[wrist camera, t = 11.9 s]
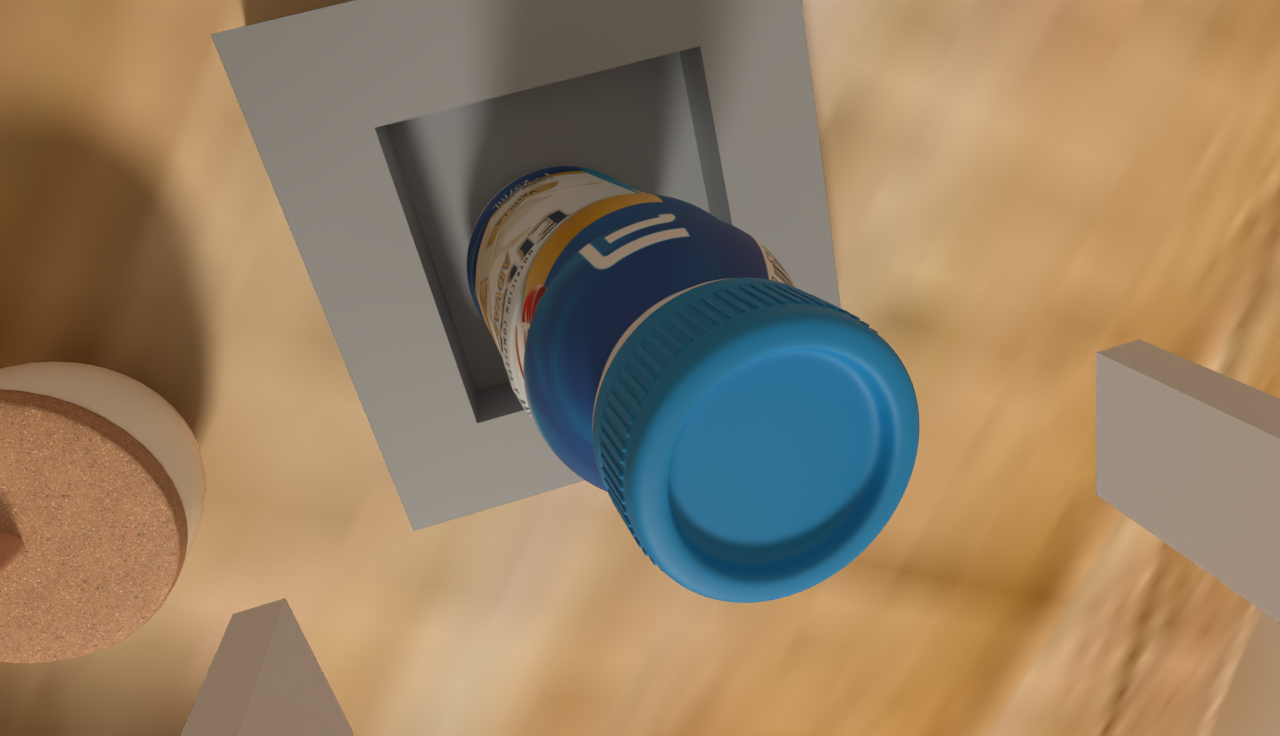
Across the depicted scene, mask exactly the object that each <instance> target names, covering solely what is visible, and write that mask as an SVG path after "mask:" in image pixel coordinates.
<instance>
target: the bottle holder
mask: <svg viewBox="0 0 1280 736" xmlns="http://www.w3.org/2000/svg"><path fill="white" fill-rule="evenodd" d="M211 36H212V39H213V41H214V44H215V46H216V49H217V51H218V54H219V56H220V58H221V61H222V63H223V66H224V68H225V71H226V73H227V76H228V78H229V80H230V83H231V85H232V88H233V90H234V93H235V95H236V98H237V100H238V102H239V105H240V107H241V110H242V112H243V115H244V117H245V120H246V122H247V125H248V127H249V129H250V132H251V134H252V137H253V139H254V142H255V144H256V147H257V149H258V151H259V154H260V156H261V159H262V161H263V164H264V166H265V169H266V171H267V173H268V176H269V178H270V181H271V183H272V186H273V188H274V191H275V193H276V195H277V198H278V200H279V203H280V205H281V208H282V210H283V213H284V215H285V217H286V220H287V222H288V225H289V227H290V230H291V232H292V235H293V237H294V240H295V242H296V244H297V247H298V249H299V252H300V254H301V257H302V259H303V262H304V264H305V266H306V269H307V271H308V274H309V276H310V279H311V281H312V284H313V286H314V288H315V291H316V293H317V296H318V298H319V301H320V303H321V306H322V308H323V310H324V313H325V315H326V318H327V320H328V323H329V325H330V328H331V330H332V332H333V335H334V337H335V340H336V342H337V345H338V347H339V350H340V352H341V355H342V357H343V359H344V362H345V364H346V367H347V369H348V372H349V374H350V377H351V379H352V381H353V384H354V386H355V389H356V391H357V394H358V396H359V399H360V401H361V403H362V406H363V408H364V411H365V413H366V416H367V418H368V421H369V423H370V425H371V428H372V430H373V433H374V435H375V438H376V440H377V443H378V445H379V447H380V450H381V452H382V455H383V457H384V460H385V462H386V465H387V467H388V470H389V472H390V474H391V477H392V479H393V482H394V484H395V487H396V489H397V492H398V494H399V496H400V499H401V501H402V504H403V506H404V509H405V511H406V514H407V516H408V518H409V521H410V523H411V526H412V528H413V531H415V530H419V529H422V528H425V527H429V526H432V525H435V524H439V523H442V522H446V521H449V520H452V519H456V518H459V517H462V516H466V515H469V514H473V513H476V512H479V511H483V510H486V509H489V508H493V507H496V506H500V505H503V504H506V503H510V502H513V501H516V500H520V499H523V498H527V497H530V496H533V495H537V494H540V493H543V492H547V491H550V490H554V489H557V488H560V487H564V486H567V485H570V484H574V483H577V482H580V481H584V479H583V478H581V477H580V476H578V475H577V474H576V473H574V472H573V471H572V470H570V469H569V468H568V467H567V466H566V465H565V464H564V463H563V462H562V461H561V460H560V459H559V458H558V457H557V456H556V455H555V454H554V453H553V452H552V450H551V449H550V448H549V446H548V445H547V444H546V442H545V441H544V439H543V438H542V436H541V434H540V432H539V431H538V429H537V427H536V424H535V423H534V421H533V420H532V419H531V418H530V417H529V415H528V414H527V413H526V411H525V410H524V408H523V407H522V405H521V404H520V402H519V400H518V399H517V397H516V395H515V393H514V391H513V389H512V387H511V384H510V382H509V379H508V376H507V373H506V370H505V366H504V362H503V358H502V356H501V354H500V351H499V349H498V347H497V345H496V343H495V341H494V339H493V337H492V335H491V333H490V331H489V329H488V327H487V325H486V324H485V322H484V321H483V319H482V317H481V316H480V314H479V312H478V310H477V308H476V306H475V304H474V301H473V299H472V296H471V293H470V289H469V285H468V279H467V268H466V263H467V251H468V245H469V241H470V237H471V234H472V231H473V229H474V226H475V224H476V222H477V220H478V218H479V216H480V214H481V213H482V211H483V210H484V208H485V207H486V206H487V204H488V203H489V202H490V201H491V199H492V198H493V197H494V196H495V195H496V194H497V193H498V192H499V191H500V190H502V189H503V188H504V187H505V186H507V185H508V184H509V183H511V182H512V181H514V180H515V179H517V178H519V177H521V176H523V175H525V174H527V173H530V172H532V171H535V170H538V169H542V168H547V167H553V166H578V167H584V168H588V169H592V170H595V171H598V172H600V173H603V174H605V175H608V176H610V177H612V178H614V179H616V180H617V181H619V182H622V183H624V184H627V185H629V186H632V187H634V188H637V189H640V190H642V191H645V192H647V193H650V194H656V195H663V196H668V197H672V198H676V199H679V200H682V201H685V202H688V203H690V204H693V205H695V206H697V207H699V208H701V209H703V210H705V211H706V212H708V213H710V214H711V215H713V216H715V217H716V218H718V219H719V220H720V221H723V222H726V223H728V224H730V225H733V226H735V227H737V228H739V229H740V230H742V231H744V232H746V233H747V234H749V235H750V236H752V237H753V238H754V239H756V240H757V241H758V242H760V243H761V244H762V245H763V246H764V247H765V248H766V249H767V250H768V251H769V252H770V253H771V254H772V255H773V256H774V257H775V258H776V259H777V260H778V262H779V263H780V264H781V265H782V267H783V268H784V270H785V271H786V272H787V274H788V275H789V277H790V279H791V280H792V282H793V284H794V285H795V287H796V288H798V289H800V290H802V291H804V292H806V293H808V294H812V295H814V296H816V297H818V298H820V299H822V300H824V301H826V302H828V303H831V304H833V305H835V306H837V307H839V308H841V305H840V297H839V289H838V282H837V274H836V266H835V258H834V251H833V243H832V235H831V227H830V220H829V212H828V204H827V197H826V189H825V181H824V173H823V166H822V158H821V150H820V142H819V135H818V127H817V119H816V111H815V104H814V96H813V88H812V81H811V73H810V65H809V57H808V50H807V42H806V34H805V26H804V19H803V11H802V3H801V0H354V1H350V2H345V3H341V4H337V5H333V6H328V7H324V8H320V9H316V10H312V11H307V12H303V13H299V14H295V15H290V16H286V17H282V18H278V19H274V20H269V21H265V22H261V23H257V24H252V25H248V26H244V27H240V28H236V29H231V30H227V31H223V32H219V33H214V34H211Z"/></svg>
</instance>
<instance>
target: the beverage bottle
mask: <svg viewBox="0 0 1280 736" xmlns="http://www.w3.org/2000/svg"><path fill="white" fill-rule="evenodd" d="M466 268H467V279H468V285H469V289H470V293H471V296H472V299H473V301H474V304H475V306H476V308H477V310H478V312H479V314H480V316H481V317H482V319H483V321H484V322H485V324H486V325H487V327H488V329H489V331H490V333H491V335H492V337H493V339H494V341H495V343H496V345H497V347H498V349H499V351H500V354H501V356H502V358H503V362H504V366H505V370H506V373H507V376H508V379H509V382H510V384H511V387H512V389H513V391H514V393H515V395H516V397H517V399H518V400H519V402H520V404H521V405H522V407H523V408H524V410H525V411H526V413H527V414H528V415H529V417H530V418H531V419H532V420H533V421H534V423H535V424H536V427H537V429H538V431H539V432H540V434H541V436H542V438H543V439H544V441H545V442H546V444H547V445H548V446H549V448H550V449H551V450H552V452H553V453H554V454H555V455H556V456H557V457H558V458H559V459H560V460H561V461H562V462H563V463H564V464H565V465H566V466H567V467H568V468H569V469H570V470H572V471H573V472H574V473H576V474H577V475H578V476H580V477H581V478H583V479H584V480H586V481H588V482H589V483H591V484H593V485H595V486H596V487H598V488H600V489H602V490H604V491H607V492H608V494H609V496H610V497H611V499H612V502H613V504H614V505H615V507H616V509H617V510H618V512H619V514H620V515H621V517H622V519H623V520H624V522H625V524H626V525H627V527H628V529H629V530H630V532H631V534H632V535H633V537H634V539H635V540H636V542H637V544H638V545H639V547H640V548H642V550H643V552H644V554H645V555H646V556H649V557H650V559H651V561H652V562H653V564H654V565H658V567H659V568H660V569H661V571H663V572H665V573H666V574H667V575H668V576H669V577H670V578H672V579H673V580H674V581H676V582H677V583H679V584H680V585H682V586H683V587H685V588H687V589H689V590H691V591H693V592H695V593H697V594H700V595H702V596H705V597H709V598H712V599H716V600H721V601H727V602H738V603H752V602H763V601H769V600H774V599H779V598H783V597H786V596H790V595H793V594H796V593H798V592H801V591H803V590H806V589H808V588H810V587H812V586H814V585H816V584H818V583H820V582H822V581H824V580H826V579H827V578H829V577H831V576H832V575H834V574H835V573H837V572H838V571H840V570H841V569H842V568H844V567H845V566H846V565H848V564H849V563H850V562H851V561H853V560H854V559H855V558H856V557H857V556H858V555H859V554H860V553H861V552H862V551H863V550H865V549H866V547H867V546H868V545H869V544H870V543H871V542H872V541H873V540H874V539H875V538H876V536H877V535H878V534H879V533H880V532H881V530H882V529H883V528H884V526H885V525H886V523H887V522H888V521H889V519H890V518H891V516H892V514H893V513H894V511H895V510H896V508H897V506H898V504H899V502H900V500H901V498H902V496H903V494H904V492H905V490H906V487H907V485H908V482H909V480H910V477H911V474H912V471H913V467H914V463H915V459H916V454H917V449H918V441H919V411H918V404H917V399H916V395H915V391H914V388H913V384H912V382H911V379H910V377H909V374H908V372H907V370H906V368H905V367H904V365H903V363H902V361H901V360H900V358H899V357H898V355H897V354H896V353H895V351H894V350H893V349H892V348H891V347H890V346H889V344H888V343H887V342H886V341H885V340H884V339H883V338H881V337H880V336H879V335H878V334H877V332H876V331H875V330H873V329H871V328H869V325H868V324H866V323H864V322H862V321H860V319H859V318H858V317H856V316H854V315H852V314H850V313H849V312H847V311H845V310H843V309H841V308H839V307H837V306H835V305H833V304H831V303H828V302H826V301H824V300H822V299H820V298H818V297H816V296H814V295H812V294H808V293H806V292H804V291H802V290H800V289H798V288H796V287H795V285H794V284H793V282H792V280H791V279H790V277H789V275H788V274H787V272H786V271H785V270H784V268H783V267H782V265H781V264H780V263H779V262H778V260H777V259H776V258H775V257H774V256H773V255H772V254H771V253H770V252H769V251H768V250H767V249H766V248H765V247H764V246H763V245H762V244H761V243H760V242H758V241H757V240H756V239H754V238H753V237H752V236H750V235H749V234H747V233H746V232H744V231H742V230H740V229H739V228H737V227H735V226H733V225H730V224H728V223H726V222H723V221H720V220H719V219H718V218H716V217H715V216H713V215H711V214H710V213H708V212H706V211H705V210H703V209H701V208H699V207H697V206H695V205H693V204H690V203H688V202H685V201H682V200H679V199H676V198H672V197H668V196H663V195H656V194H650V193H647V192H645V191H642V190H640V189H637V188H634V187H632V186H629V185H627V184H624V183H622V182H619V181H617V180H616V179H614V178H612V177H610V176H608V175H605V174H603V173H600V172H598V171H595V170H592V169H588V168H584V167H578V166H553V167H547V168H542V169H538V170H535V171H532V172H530V173H527V174H525V175H523V176H521V177H519V178H517V179H515V180H514V181H512V182H511V183H509V184H508V185H507V186H505V187H504V188H503V189H502V190H500V191H499V192H498V193H497V194H496V195H495V196H494V197H493V198H492V199H491V201H490V202H489V203H488V204H487V206H486V207H485V208H484V210H483V211H482V213H481V214H480V216H479V218H478V220H477V222H476V224H475V226H474V229H473V231H472V234H471V237H470V241H469V245H468V251H467V263H466Z"/></svg>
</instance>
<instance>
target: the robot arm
mask: <svg viewBox="0 0 1280 736" xmlns="http://www.w3.org/2000/svg"><path fill="white" fill-rule="evenodd" d="M1096 495H1098V496H1099V497H1100V498H1102V499H1103V500H1105V501H1106V502H1108V503H1109V504H1110V505H1112V506H1113V507H1115V508H1116V509H1118V510H1119V511H1120V512H1122V513H1123V514H1125V515H1126V516H1128V517H1129V518H1130V519H1132V520H1133V521H1135V522H1136V523H1138V524H1139V525H1140V526H1142V527H1143V528H1145V529H1146V530H1148V531H1149V532H1150V533H1152V534H1153V535H1155V536H1156V537H1158V538H1159V539H1160V540H1162V541H1163V542H1165V543H1166V544H1168V545H1169V546H1170V547H1172V548H1173V549H1175V550H1176V551H1177V552H1179V553H1180V554H1182V555H1183V556H1185V557H1186V558H1187V559H1189V560H1190V561H1192V562H1193V563H1195V564H1196V565H1197V566H1199V567H1200V568H1202V569H1203V570H1205V571H1206V572H1207V573H1209V574H1210V575H1212V576H1213V577H1215V578H1216V579H1217V580H1219V581H1220V582H1222V583H1223V584H1225V585H1226V586H1227V587H1229V588H1230V589H1232V590H1233V591H1235V592H1236V593H1237V594H1239V595H1240V596H1242V597H1243V598H1245V599H1246V600H1247V601H1249V602H1250V603H1252V604H1253V605H1255V606H1256V607H1257V608H1259V609H1260V610H1262V611H1263V612H1265V613H1266V614H1267V615H1269V616H1270V617H1272V618H1273V619H1274V620H1276V621H1278V622H1279V623H1280V399H1279V398H1277V397H1274V396H1272V395H1270V394H1267V393H1265V392H1262V391H1260V390H1258V389H1255V388H1253V387H1251V386H1248V385H1246V384H1244V383H1241V382H1239V381H1236V380H1234V379H1232V378H1229V377H1227V376H1225V375H1222V374H1220V373H1218V372H1215V371H1213V370H1210V369H1208V368H1206V367H1203V366H1201V365H1199V364H1196V363H1194V362H1191V361H1189V360H1187V359H1184V358H1182V357H1180V356H1177V355H1175V354H1173V353H1170V352H1168V351H1165V350H1163V349H1161V348H1158V347H1156V346H1154V345H1151V344H1149V343H1147V342H1144V341H1142V340H1136V341H1133V342H1129V343H1126V344H1123V345H1119V346H1116V347H1113V348H1109V349H1106V350H1103V351H1100V352H1097V389H1096ZM180 736H353V731H352V729H351V727H350V725H349V723H348V721H347V719H346V717H345V715H344V713H343V711H342V709H341V707H340V705H339V703H338V701H337V699H336V697H335V695H334V693H333V691H332V689H331V688H330V686H329V684H328V682H327V680H326V678H325V676H324V674H323V672H322V670H321V668H320V666H319V664H318V662H317V660H316V658H315V656H314V654H313V652H312V650H311V648H310V646H309V644H308V642H307V640H306V638H305V636H304V634H303V632H302V630H301V628H300V626H299V624H298V622H297V620H296V618H295V616H294V614H293V612H292V610H291V608H290V606H289V604H288V602H287V600H286V598H285V599H281V600H278V601H275V602H271V603H268V604H265V605H262V606H258V607H255V608H252V609H248V610H245V611H242V612H238V613H235V614H233V615H232V618H231V620H230V622H229V624H228V627H227V629H226V631H225V634H224V636H223V638H222V641H221V643H220V645H219V648H218V650H217V652H216V654H215V657H214V659H213V661H212V664H211V666H210V668H209V671H208V673H207V675H206V678H205V680H204V682H203V684H202V687H201V689H200V691H199V694H198V696H197V698H196V701H195V703H194V705H193V708H192V710H191V712H190V714H189V717H188V719H187V721H186V724H185V726H184V728H183V731H182V733H181V735H180Z"/></svg>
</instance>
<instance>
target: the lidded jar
mask: <svg viewBox="0 0 1280 736" xmlns="http://www.w3.org/2000/svg"><path fill="white" fill-rule="evenodd" d="M205 492H206V478H205V469H204V464H203V460H202V456H201V452H200V448H199V446H198V443H197V441H196V439H195V436H194V434H193V432H192V431H191V429H190V428H189V426H188V425H187V423H186V421H185V420H184V419H183V418H182V416H181V415H180V414H179V413H178V412H177V411H176V410H175V408H174V407H173V406H172V405H171V404H170V403H168V402H167V401H166V400H165V399H164V398H163V397H161V396H160V395H159V394H158V393H156V392H155V391H153V390H152V389H150V388H149V387H147V386H145V385H144V384H142V383H141V382H139V381H137V380H134V379H132V378H130V377H128V376H126V375H124V374H121V373H118V372H115V371H112V370H109V369H106V368H103V367H99V366H94V365H88V364H83V363H71V362H36V363H26V364H21V365H16V366H11V367H6V368H2V369H0V662H9V663H43V662H50V661H58V660H65V659H69V658H74V657H78V656H82V655H86V654H90V653H92V652H95V651H98V650H100V649H103V648H105V647H108V646H111V645H113V644H114V643H116V642H118V641H120V640H122V639H124V638H125V637H127V636H129V635H131V634H132V633H133V632H135V631H136V630H137V629H138V628H140V627H141V626H142V625H144V624H145V623H146V622H147V621H148V620H149V619H150V618H151V617H152V616H153V615H154V614H155V613H156V612H157V611H158V609H159V608H160V607H161V606H162V604H163V603H164V601H165V600H166V598H167V596H168V595H169V593H170V592H171V590H172V588H173V587H174V585H175V583H176V581H177V579H178V576H179V574H180V571H181V568H182V566H183V563H184V561H185V559H186V557H187V555H188V553H189V551H190V549H191V546H192V544H193V541H194V539H195V536H196V533H197V531H198V528H199V524H200V521H201V518H202V513H203V507H204V501H205Z"/></svg>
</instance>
